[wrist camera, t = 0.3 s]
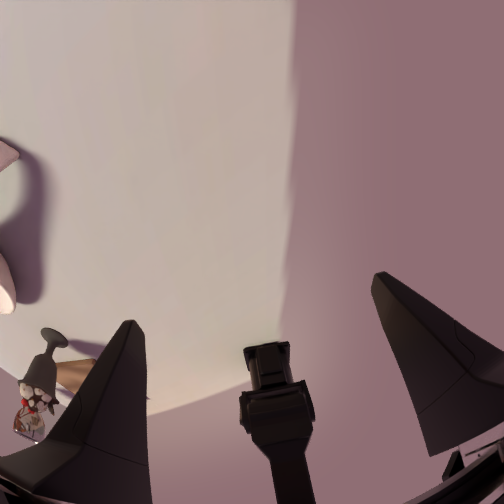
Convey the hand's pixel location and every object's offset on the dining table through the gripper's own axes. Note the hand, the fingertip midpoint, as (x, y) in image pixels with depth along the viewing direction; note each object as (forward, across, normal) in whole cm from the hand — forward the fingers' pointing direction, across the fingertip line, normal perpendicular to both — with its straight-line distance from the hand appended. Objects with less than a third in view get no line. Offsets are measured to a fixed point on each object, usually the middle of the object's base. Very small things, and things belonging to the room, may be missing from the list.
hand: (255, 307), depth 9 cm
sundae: (+14, +32, +18) cm, 39 cm away
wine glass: (+14, +52, +34) cm, 64 cm away
